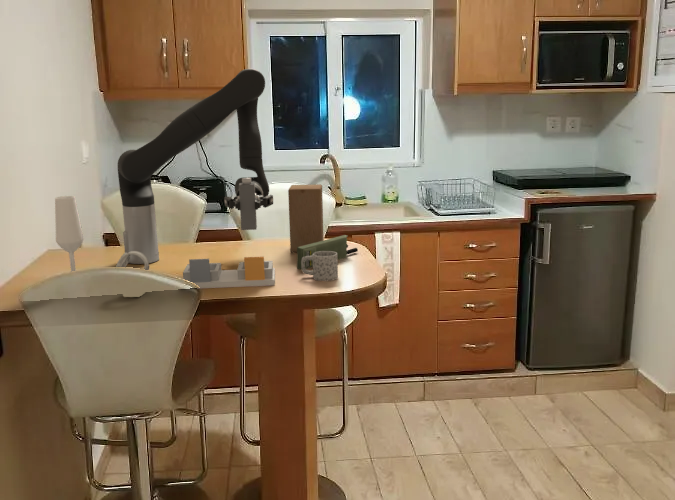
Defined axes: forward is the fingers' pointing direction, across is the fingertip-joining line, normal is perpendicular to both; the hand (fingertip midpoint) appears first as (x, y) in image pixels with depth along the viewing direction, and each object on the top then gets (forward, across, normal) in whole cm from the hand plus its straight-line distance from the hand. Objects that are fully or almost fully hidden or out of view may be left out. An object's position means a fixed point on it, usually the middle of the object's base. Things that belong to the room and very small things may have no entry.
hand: (247, 206), depth 177 cm
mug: (+1, +18, +20) cm, 27 cm away
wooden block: (-34, +17, +20) cm, 43 cm away
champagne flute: (+1, -46, +20) cm, 50 cm away
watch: (+10, -29, +20) cm, 36 cm away
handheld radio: (-17, +22, +20) cm, 35 cm away
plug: (-3, 0, +6) cm, 7 cm away
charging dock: (+1, -6, +20) cm, 21 cm away
